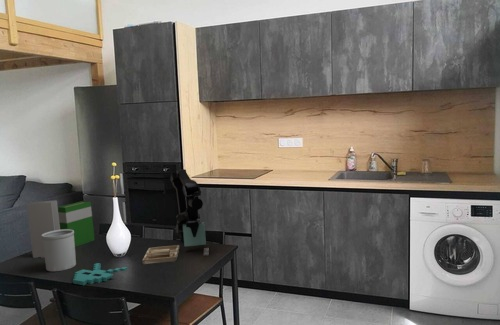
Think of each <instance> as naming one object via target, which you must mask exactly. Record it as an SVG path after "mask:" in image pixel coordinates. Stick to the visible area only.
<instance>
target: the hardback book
mask: <svg viewBox="0 0 500 325" xmlns="http://www.w3.org/2000/svg"><path fill="white" fill-rule="evenodd" d="M57 207H58V215H59V224H60V230H62V229H71V230H74V243H75V248H76V247H79V246H82V245H85V244H87V243H90V242H93V241H95V240H96V239H95V229H94V224H93V222H94V221H93V220H94V219H93V211H92V203H91V201H86V202H84V200H80V201H77V202H73V203H69V204H63V205H61V206H57Z"/></svg>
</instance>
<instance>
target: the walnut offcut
mask: <svg viewBox="0 0 500 325" xmlns="http://www.w3.org/2000/svg"><path fill="white" fill-rule="evenodd" d="M148 257H149V259H153V258H164V257H170V253H169V254H167V255H153V256H152V253H151V254H149V256H148Z"/></svg>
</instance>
